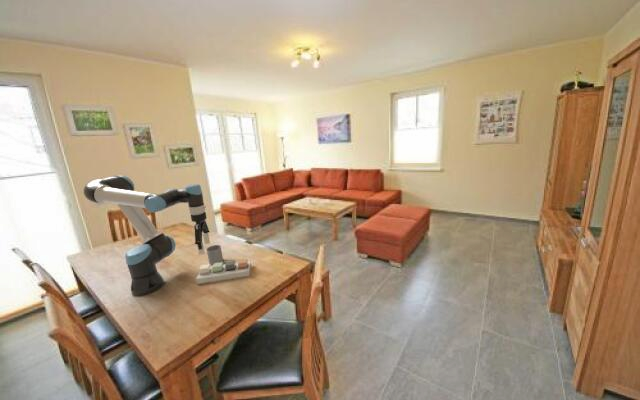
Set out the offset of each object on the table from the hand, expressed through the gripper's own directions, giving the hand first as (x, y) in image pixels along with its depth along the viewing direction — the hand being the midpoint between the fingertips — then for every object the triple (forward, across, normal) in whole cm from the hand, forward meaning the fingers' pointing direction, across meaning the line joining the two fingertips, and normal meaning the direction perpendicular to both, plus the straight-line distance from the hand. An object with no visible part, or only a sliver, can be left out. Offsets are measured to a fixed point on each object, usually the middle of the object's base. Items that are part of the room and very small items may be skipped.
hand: (204, 248), depth 141 cm
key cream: (+14, -2, +1) cm, 14 cm away
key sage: (+14, -2, -6) cm, 15 cm away
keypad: (+17, -2, -9) cm, 19 cm away
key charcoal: (+14, -2, -13) cm, 19 cm away
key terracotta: (+14, -2, -20) cm, 24 cm away
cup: (+18, +16, -1) cm, 24 cm away
